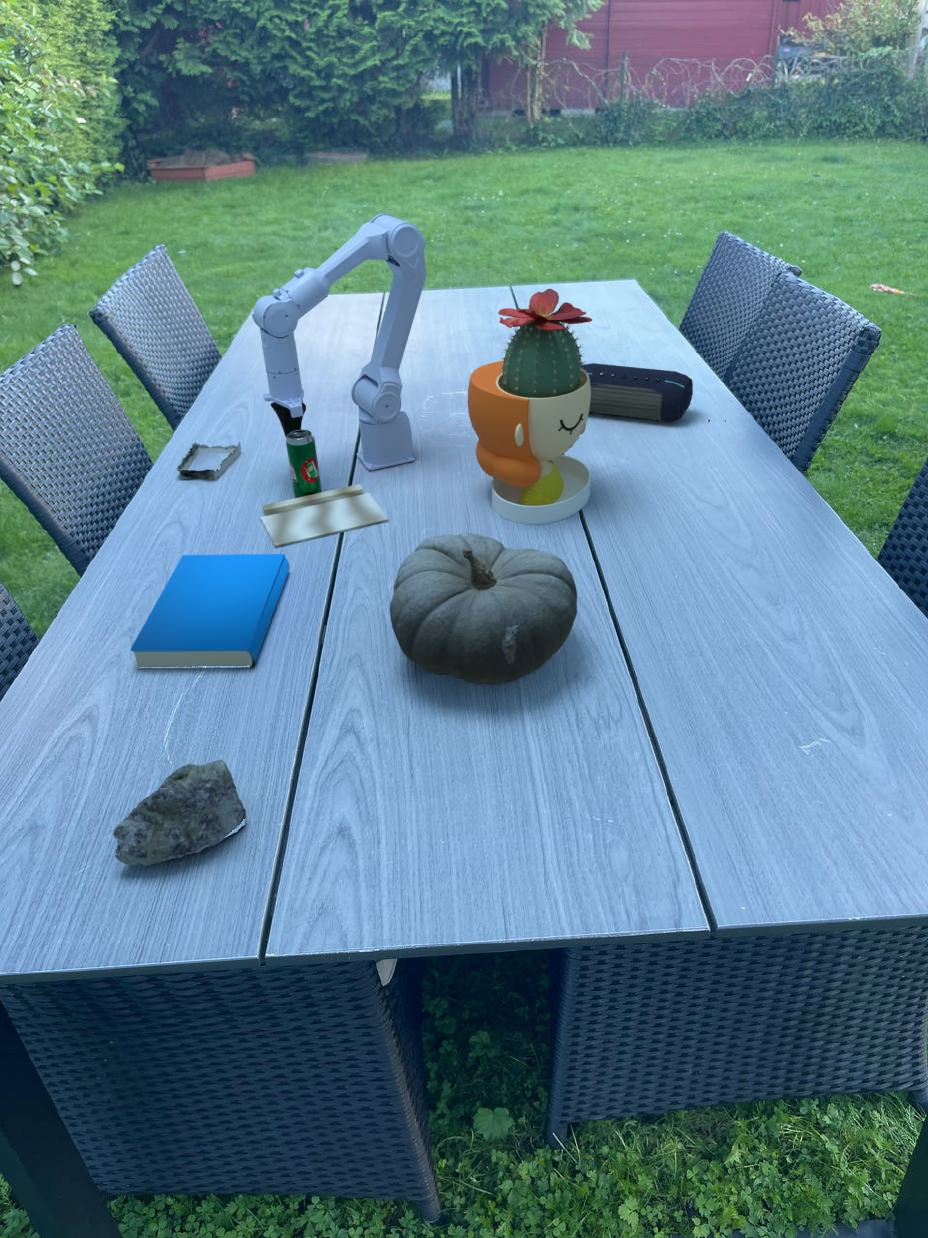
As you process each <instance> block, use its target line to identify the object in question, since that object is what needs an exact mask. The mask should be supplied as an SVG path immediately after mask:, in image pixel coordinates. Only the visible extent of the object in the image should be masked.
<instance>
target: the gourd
mask: <svg viewBox="0 0 928 1238" xmlns="http://www.w3.org/2000/svg"><path fill="white" fill-rule="evenodd" d="M577 603H578V591H577V585H576V583H575V580H574V576H573V574H572V572H571V571H570V570H569V568H568V566H567V564H566V563H565V562H564V560H563V559H562V558H561V557H559V556H557V555H555V554H553V553H549V552H548V551H547V552H546V551H543V550H539V549H537V548H536V549H535V548H530V547H529V548H516V549H514V548H511V547H505V546H504V544H503V543H502V542H500V541H499V540H497V539H495V538H492V537H489V536H484V535H482V534H479V533H472V532H462V533H459V534H451V533H448V534H447V533H446V534H442V535H434V534H433V535H430V536H427V537H426V538H425V539H423V540H422V541H421V542H420V543H419V544H418V545H417V547H416V548H415V549H414V550H413V551H412V552H411V553H409V554H408V556H406V557H405V559H404V560H403V561H402V563H401V564H400V566H399V569H398V572H397V576H396V578H395V580H394V584H393V594H392V598H391V601H390V604H389V615H390V616H389V617H390V623H391V628H392V630H393V633H394V636H395V638H396V641H397V643H398V646H399V648H400V650H401V651H402V653H403V654H404V656H406V658H407V659H408V660H410V662H411V661H412V662H413V663H414V664H416V665H418V666H419V668H420V669H422V670H424V671H426V672H428V673H430V674H433V675H435V676H440V677H442V676H443V677H444V676H445V677H448V676H450V677H453V678H456V679H460V680H463V681H464V682H466V683H468V684H472V685H477V686H478V685H480V686H481V685H482V686H483V685H486V686H487V685H490V686H495V685H501V684H506V683H512V682H514V681H517V680H520V679H522V678H524V677H526V676H529V675H531V674H534V673H535V672H536V671H538V670H539V669H540V668H542V667H543V666H544V665H546V663H547V662H548V661H549V660H551V659H552V657H553V656H554V655H555V654H556V653H558V652H559V650H560V649H561V648H562V646H563V645H564V643H565V642H566V641H567V639H568V638H569V635H570V633H571V632H572V631H571V630H572V628H573V626H574V622H575V620H576V618H577V614H578V604H577Z"/></svg>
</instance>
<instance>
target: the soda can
mask: <svg viewBox="0 0 928 1238" xmlns="http://www.w3.org/2000/svg"><path fill="white" fill-rule="evenodd" d="M315 439H316V438H315V436H314V435H313V433H312V431H310V430H308V429H304V428H303V429H302V428H301V430H294V431H291V432H290V433H288V434H287V439H285V445H286V451H287V459H288V464H289V471H290V476H291V483H292V489H293V495H294V497H295V498H299V497H303V496H308V495H312V494H317V493H322V492H323V490H322V484H321V483H322V482H321V481H322V480H321V476H320V475H321V474H320V469H319V461H318V455H317V445H316V440H315Z"/></svg>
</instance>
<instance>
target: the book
mask: <svg viewBox="0 0 928 1238" xmlns="http://www.w3.org/2000/svg"><path fill="white" fill-rule="evenodd" d="M289 571H290V563H289V560H288V558H287V557H286V554H285V553H265V554H264V553H259V554H257V553H253V554H246V553H245V554H238V553H237V554H183V555H181V558H180V559H179V561H178V563H177V565H176V567H175V568H174V569H173V571H172V574H171V576H170V577H169V579H168V581H167V582H166V585H165V586H164V588H163V589H162V591H161V593H160V596H159V597H158V599H157V601H156V603H155V604H154V606H153V608H152V610H151V612H150V613H149V615H148V617H147V619H146V621H145V622H144V623H143V625H142V628H141V629H140V631H139V633H138V635H137V637H136V638H135V640H134V642H133V644H132V646H131V647H130V650H131V652H133V653H134V656H135V660H136V663H137V667H138V668H139V667H177V666H178V667H185V666H186V667H192V666H195V667H196V666H197V667H198V666H247V665H249V666H250V665H251V667H252V666H253V665H255V664H256V661H257V659H256V658H258V655H259V653H260V650H261V648H262V645H263V643H264V640H265V636H266V634H267V631H268V627H269V625H270V623H271V620H272V618H273V614H274V611H275V608H276V606H277V604H278V601H279V600H280V599H279V598H280V595H281V593H282V590H283V587H284V586H285V581H286V579H287V576H288V573H289ZM253 663H254V664H253Z"/></svg>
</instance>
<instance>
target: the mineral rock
mask: <svg viewBox="0 0 928 1238" xmlns="http://www.w3.org/2000/svg"><path fill="white" fill-rule="evenodd" d="M244 807H245V806H244V804H243V802H242V800H241V799H240V797H239V794H238V792H237V787H236V785H235V780H234V778H233V776H232V773H231V771H230V769H229V767H228V766H227V763H226V762H225V761H224V760H223V759H217V760H214V761H213V760H212V761H211V762H208V763H206V764H194V763H191V762H190V763H187V764H184V765H183V766H180V767H178V768H176V769H175V770H174V771H173V772H172V773H171V774H169V775H168V776H167V777H165V778H164V781H163V782H162V783H161V784H160V786H159V787H158V788H157V790H155V791H154V792H152V793H151V794H149V796H148V795H147V797H145V798H143V799H141V800H140V802H138V803H137V805H136V807H134V808H133V809H132V810H131V811H130V812H129V814H128V816H127V817H125V818H123V820H122V821H121V822H120V823H119V824H118V825H117V826H116V827H114V829H113V833H112V836H113V837H114V838H115V839H116V840H117V841H116V842H117V847H116V849H115V856H114V857H115V858H116V859H117V860H118V861H119V862H120V863H122V864H124V865H129V866H138V865H142V866H150V865H154V864H155V865H156V864H161V863H163V862H166V861H167V860H170V861H171V860H174V859H180V858H183V857H185V856H188V855H191V854H199V853H200V852H202V851H203V850H204V849H206V848H208V847H213V846H215V845H218V844H219V843H220V842H221V841H224V839H223V838H224V837H225V836H227V835H228V834H229V833H230V832H232V830H234V829H235V828H237V826H239V825H240V824H241V822H242V821H243V819H245V818H246V819H247V811H246V808H244ZM184 855H185V856H184ZM162 861H163V862H162ZM167 862H168V861H167Z"/></svg>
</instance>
